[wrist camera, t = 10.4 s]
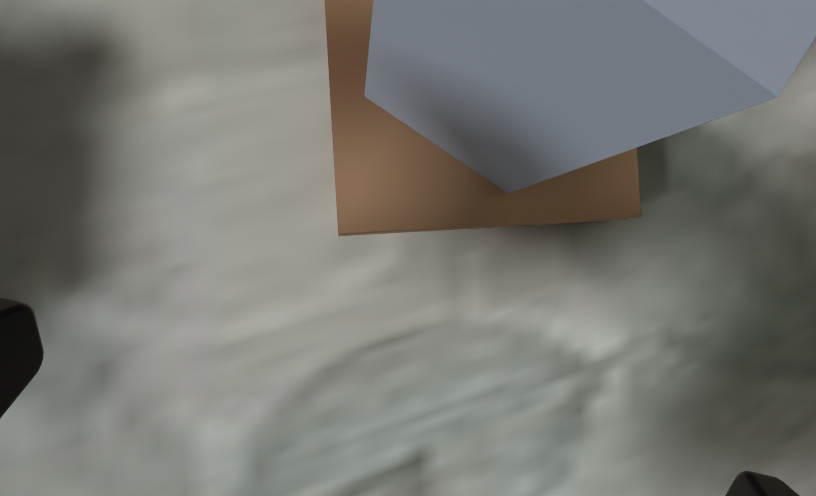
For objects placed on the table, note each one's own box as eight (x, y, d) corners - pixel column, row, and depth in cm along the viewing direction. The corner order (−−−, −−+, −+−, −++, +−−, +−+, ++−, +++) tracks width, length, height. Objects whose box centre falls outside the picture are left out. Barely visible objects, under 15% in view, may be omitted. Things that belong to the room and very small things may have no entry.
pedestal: (601, 221, 22) (641, 216, 19) (338, 236, 21) (338, 233, 19) (585, -39, 22) (622, -84, 19) (323, -35, 22) (319, -82, 19)
